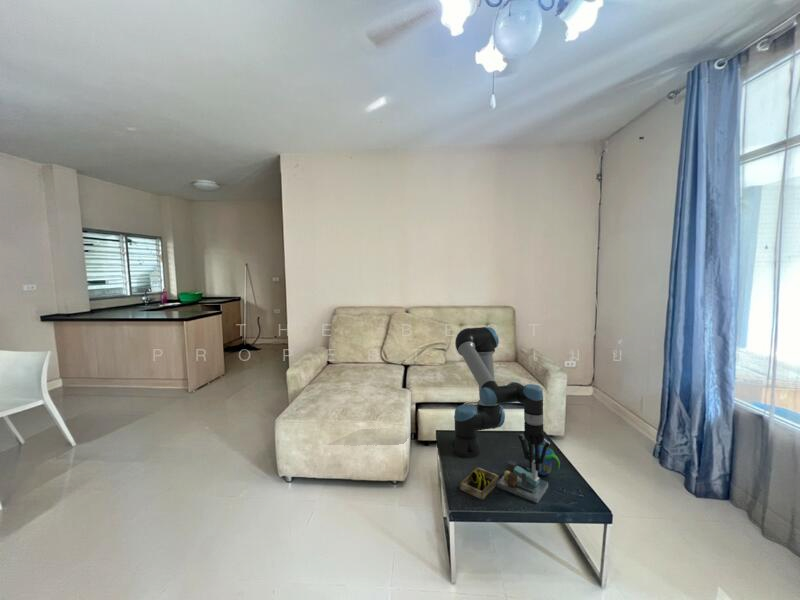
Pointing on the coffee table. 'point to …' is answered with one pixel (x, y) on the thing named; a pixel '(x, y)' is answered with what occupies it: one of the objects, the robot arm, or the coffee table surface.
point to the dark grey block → (511, 466)
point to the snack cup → (546, 461)
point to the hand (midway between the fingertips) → (534, 476)
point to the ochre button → (506, 474)
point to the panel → (525, 488)
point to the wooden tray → (476, 492)
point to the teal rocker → (529, 478)
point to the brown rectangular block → (512, 479)
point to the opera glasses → (479, 480)
